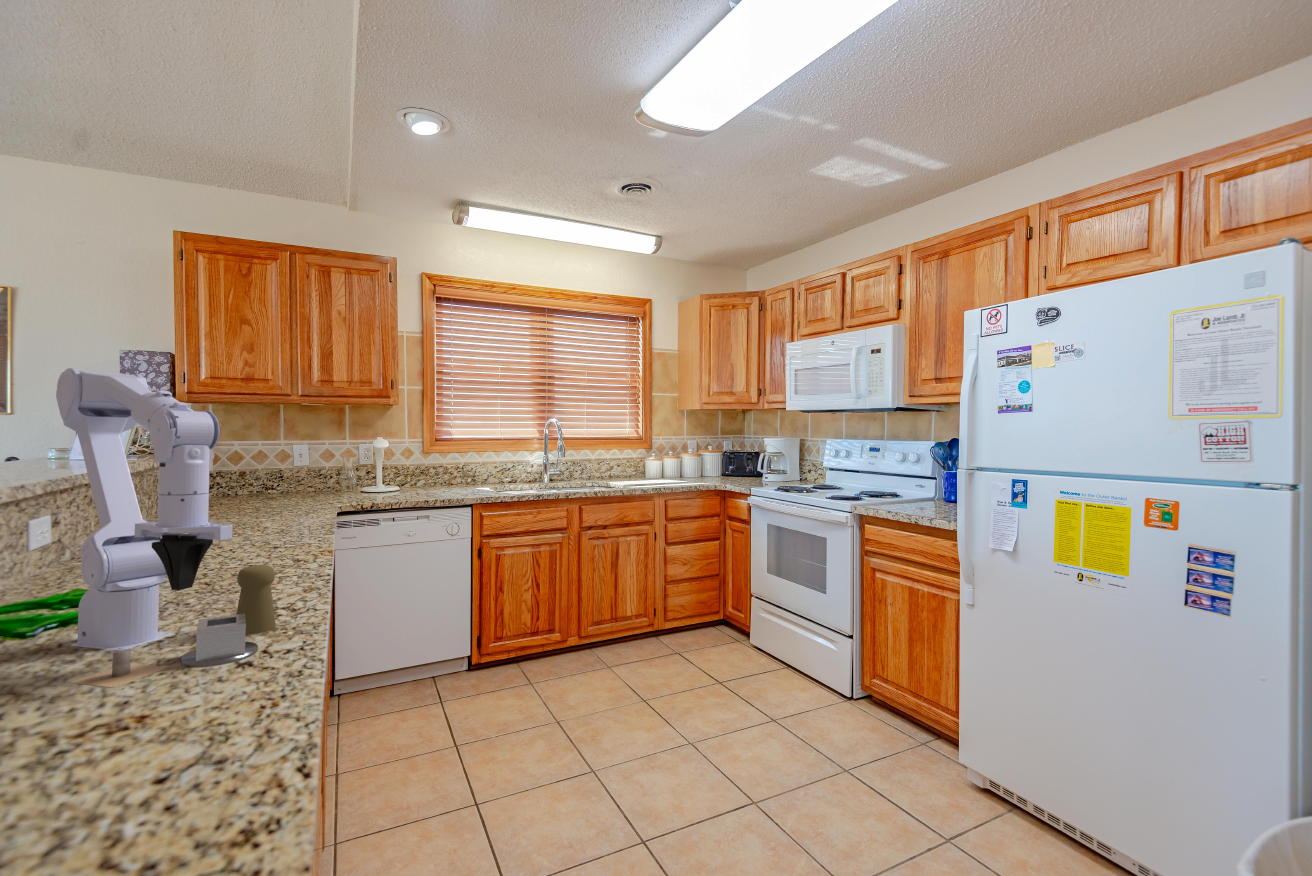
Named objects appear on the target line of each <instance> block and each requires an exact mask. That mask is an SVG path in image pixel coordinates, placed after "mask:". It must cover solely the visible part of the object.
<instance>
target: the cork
mask: <svg viewBox="0 0 1312 876" xmlns="http://www.w3.org/2000/svg"><path fill="white" fill-rule="evenodd" d="M275 572H276V571H275V569H274V568H273V567H272V565H271V566H270V565H266V564H256V565H254V564H253V565H248V566H244V567H243V568H241V569H240V570H239V571H238V573H237V576H236V577H237V579H236V580H237V584H238V586H239V587H240V594H239V598H238V603H237V610H236V614H235V615H239V614H245V619H246V635H247V636H248V635H249V636H250V635H257V634H264V633H266V632H269V631H271V632H273V631H274V632H276V631H277V625H276V617H275V616H276V615H275V611H274V610H275V609H274V601H273V595H272V585H273V583H274V581H275V578H276V577H275V576H276V573H275ZM275 630H276V631H275ZM246 635H245V636H246Z"/></svg>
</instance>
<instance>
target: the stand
mask: <svg viewBox="0 0 1312 876" xmlns="http://www.w3.org/2000/svg"><path fill="white" fill-rule="evenodd" d="M131 657H132V650H131V648H128V649H124V650H114V651H113V652H112V661H111V663H112V665H111V667H110V668H107V669H104V670H101V671H99V672H95V673H93V674H90V675H87V676H83V677H81V678H77V679H75V680H73V681H69V684H70V683H71V684H79V685H86V686H93V687H94V686H95V687H101V688H103V687H104V688H111V689H115V688H116V689H117V688H118V687H121V686H124V685H126V684H129V683H131V682H134V681H137V680H139V679H142V678H145V677H149V676H151V675H152V674H155V673H158V672H160V671H164V670H166V669H169V668H170V666H164V665H154V664H146V663H145V664H144V663H137V662H136V663H135V662H131Z"/></svg>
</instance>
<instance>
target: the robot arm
mask: <svg viewBox="0 0 1312 876" xmlns="http://www.w3.org/2000/svg"><path fill="white" fill-rule="evenodd" d="M55 397H56V402H57V406H58V409H59V414H60V417H61V419H62V422H63V426H65V427H67V428H69V429H71V430H73V431H75V432H76V434H77V437H78V441H79V445H80V449H81V452H82V456H83V457H82V458H83V461H84V465H85V468H86V474H87V477H88V480H89V481H88V482H89V485H90V489H91V493H92V497H93V501H94V505H95V509H96V513H97V516H98V521H99V525H100V528H99V529H97V530H96V531H95V532H93V533H92V534H90V535H89V536H88V537H87V538H86V539H85V540H84V542H83V543H82V545H81V548H80V555H81V556H80V557H81V563H80V566H81V568H80V569H81V577H82V579H83V581H84V583H85V584H86V585H87V586H88V587H90V588H89V589H88V590H86V592H85V593H84V594H83V595H82V596H81V599H80V601H79V603H78V615H77V616H78V617H77V641H76V642H75V643H72V644H71V645H70V646H73V647H83V648H92V649H100V650H108V651H110V650H112V651H118V650H124V649H131V648H134V647H137V646H140V645H144V644H146V643H149V642H153V641H156V640H160V639H162V638H166V637H169V636H172V635H174V634H173V632H164V631H163V632H161V631H159V610H160V609H159V605H160V583H161V584H162V583H165V580H166V577H167V580H168V583H169V585H170V588H171V589H170V590H172V591H182V590H186V589H187V590H188V589H190V588H191V589H192V588H193V585H194V583H195V579H196V577H197V573H198V570H199V568H200V565H201V563H202V561H203V558H204V556H205V555H206V553H207V552H208V550H209V549H210V547H211V546H212V545H213V543H214V541H225V540H231V539H233V525H232V524H221V523H216V522H215V523H214V522H209V511H210V509H209V508H210V507H209V506H210V505H209V503H210V502H209V501H210V462H211V461H210V459H211V457H210V454H211V450H213V449H214V448H215V447H216V446H217V443H218V442H219V440H220V439H219V438H220V432H221V431H220V423H219V420H218V418H217V416H216V414H214V413H213V412H212V410H201V411H195V410H193V409H192V408H191V407H188V405H187V404H186V403H185V402H182V401H181V402H180V401H179V400H177V399H176V398H174V397H173V393H172V392H170V391H169V390H156V391H151V390H150V389H149V385H148V381H147V378H146V377H144V376H142V375H141V374H137V373H133V374H128V373H127V374H126V373H117V372H116V373H115V372H105V371H96V370H94V371H93V370H85V369H77V368H73V367H68V368H66V369H65V370H63V371H62V372H61V373H60V375H59V377H58V380H57V383H56V393H55ZM137 425H139V426H141V427H142V428H143V429H144V430H146V431H147V432H149V435H150V441H151V443H152V446H153V450H154V451H153V452H154V453H153V455H154V457H153V458H154V461H155V462H157V463H158V491H157V493H158V495H157V497H158V498H157V500H158V501H157V521H147V520H145V519H143V516H142V512H141V509H140V505H139V502H138V501H139V500H138V497H137V493H136V490H135V486H134V483H133V479H132V475H131V472H130V467H129V464H128V460H127V457H126V453H125V448H124V444H123V441H122V436H121V434H122V433H124V432H126V431H129V430H132V429H134V428H135V427H136V426H137Z"/></svg>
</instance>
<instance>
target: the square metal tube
mask: <svg viewBox="0 0 1312 876" xmlns="http://www.w3.org/2000/svg"><path fill="white" fill-rule="evenodd" d="M195 641H196V646H195V649H196V662H201V661H208V660H214V659H221V658H227V657H233V656H240V655H245V642H246V619H245V614H239V615H236V614H232V615H223V616H215V617H207V618H200V619H198V621H197V626H196V640H195Z"/></svg>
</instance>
